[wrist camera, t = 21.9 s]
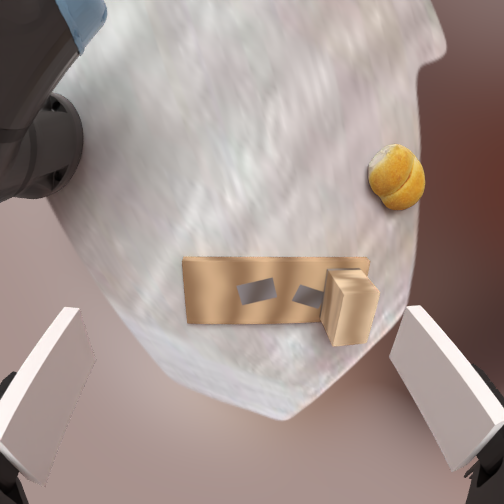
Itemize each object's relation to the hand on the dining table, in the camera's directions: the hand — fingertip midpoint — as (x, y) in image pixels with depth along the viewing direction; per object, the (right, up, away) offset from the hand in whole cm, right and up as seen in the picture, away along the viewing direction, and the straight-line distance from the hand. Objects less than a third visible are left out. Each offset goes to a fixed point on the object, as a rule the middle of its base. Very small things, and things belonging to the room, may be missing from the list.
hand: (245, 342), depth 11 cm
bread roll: (+20, +14, +27) cm, 36 cm away
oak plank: (+4, -2, +32) cm, 32 cm away
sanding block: (+13, -3, +31) cm, 34 cm away
